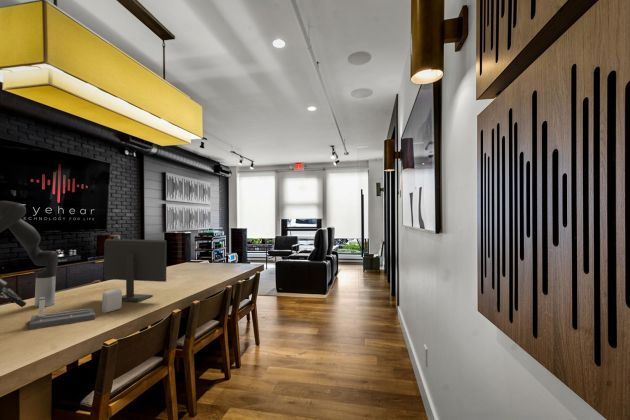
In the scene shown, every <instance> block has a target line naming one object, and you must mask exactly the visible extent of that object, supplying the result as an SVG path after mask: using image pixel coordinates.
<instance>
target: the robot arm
mask: <svg viewBox="0 0 630 420" xmlns="http://www.w3.org/2000/svg"><path fill="white" fill-rule="evenodd" d="M26 213H27V208H26V206H25V205H24V204H22V203H19V202H15V201H8V200H0V234H1V233H2V232H3V231H5V230H7V229H9V231H10V233H12V235H13V236H14V237H15V238H16V240H17V241H18V242H19V243H20V245H21V246H22V247H23V248H24V250H25V251H26V252H27V254H28V256H29V257H30V259H31V261H32V262H33V264H34V265H35V266H38V267H45V269H44V270H42V271H39V272H37V273H36V274H35V287H34V289H35V290H34V307H35V308H39V298H40V297H45V307H50V306H53V305H55V297H56V296H55V295H56V277H57V276H56V275H57V272H58V263H59V262H58V261H59V253H58V252H57V251H55V250H42V249H40V247H39V244H40V242H41V240H42V239H41V237H42V236H41V235H40V233H39V232H38V231H37V229H36V228H35V227H34V226H33V225H31V224H29V223H28V222H27V221H25V220H23V217H24V216H25V215H26ZM7 285H8V282H7V281H5V280H4V279H3V278H1V277H0V298H2V300H4V301H7V302H9V303H12V304H16V305H18V306H19V307H21V308H23V307H25V306H26V305H27V302H25V300H23V299H21V297H20V296H19V295H18V294H17V293H16V292H15V291H14V290H13V289H11V288H7V287H6V286H7Z"/></svg>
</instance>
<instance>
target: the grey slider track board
mask: <svg viewBox="0 0 630 420" xmlns="http://www.w3.org/2000/svg"><path fill="white" fill-rule="evenodd" d="M44 315H45V317H38V318H37V316H39V314H34V315H31V317H30V321H29V325H28V329H29V330H34V329H39V328H47V327H52V326H58V325H59V324H60V325H65V324H71V323H78V322H84V321H90V320H95V319H96V312H95V309H94V307H87V308H81V309H79V308H78V309H71V310H65V311H57V312H51V313H50V312H49V313H44Z"/></svg>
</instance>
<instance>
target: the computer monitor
mask: <svg viewBox="0 0 630 420" xmlns="http://www.w3.org/2000/svg"><path fill="white" fill-rule="evenodd" d="M167 242H168V241H167V240H165V239H164V240H163V239H131V238H129V239H126V238H125V239H124V238H106V239H105V240H104V244H103V245H104V247H103V252H104V253H103V254H104V255H103V256H104V257H103V260H104V261H103V277H104V279H105V280H112V281H113V280H114V281H115V280H116V281H117V280H118V281H125V283H126V284H125V286H126V287H125V294H122V302H123V303H124V302H125V303H126V302H127V303H129V302H130V303H139V302H142V301H144V300H147V299H150V298H152V297H153V296H154V295H153V294H139V293H135V282H136V281H138V282H140V281H141V282H161V283H165V282H166V283H167V261H168V259H167V258H168V257H167V255H168V254H167V252H168V251H167V247H168V245H167Z"/></svg>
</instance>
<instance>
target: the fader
mask: <svg viewBox="0 0 630 420" xmlns="http://www.w3.org/2000/svg"><path fill="white" fill-rule="evenodd" d="M45 307H46V306H45V297H40V298H39V307H38V315H39V316H37V318H38V317H45V315H44V314H45Z"/></svg>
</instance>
